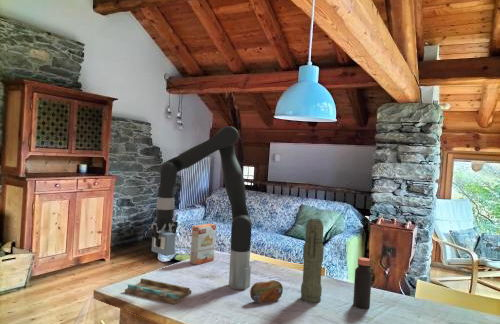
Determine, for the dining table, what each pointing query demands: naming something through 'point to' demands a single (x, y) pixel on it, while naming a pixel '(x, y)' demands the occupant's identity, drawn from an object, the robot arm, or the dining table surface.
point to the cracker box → (202, 243)
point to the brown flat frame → (158, 291)
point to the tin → (266, 291)
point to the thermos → (312, 262)
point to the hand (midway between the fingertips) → (163, 245)
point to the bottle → (362, 284)
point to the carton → (165, 244)
